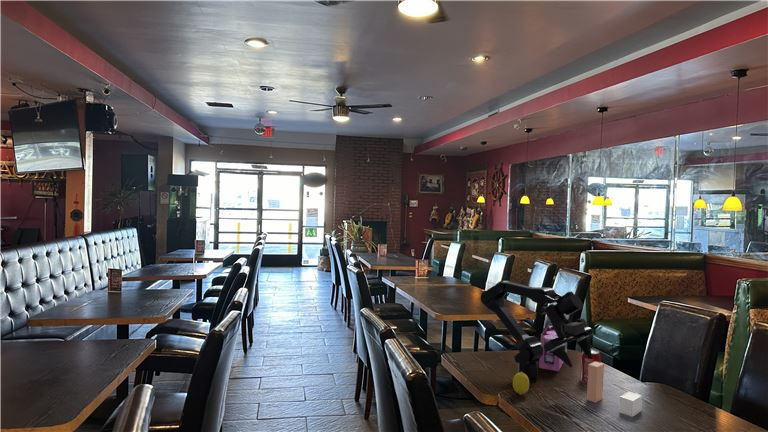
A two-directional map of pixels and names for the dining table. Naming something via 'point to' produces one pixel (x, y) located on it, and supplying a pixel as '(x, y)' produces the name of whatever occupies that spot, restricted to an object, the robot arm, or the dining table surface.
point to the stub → (595, 381)
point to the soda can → (585, 362)
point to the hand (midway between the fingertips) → (581, 362)
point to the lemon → (521, 383)
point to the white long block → (630, 403)
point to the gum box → (548, 358)
